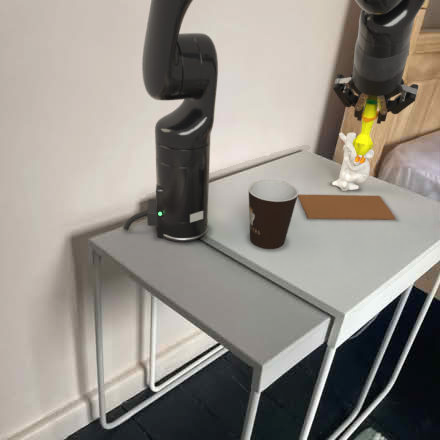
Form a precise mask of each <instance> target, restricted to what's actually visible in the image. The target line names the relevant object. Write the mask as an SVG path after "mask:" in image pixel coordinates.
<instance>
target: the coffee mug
mask: <svg viewBox="0 0 440 440" xmlns="http://www.w3.org/2000/svg"><path fill="white" fill-rule="evenodd" d="M298 195H299V190H298V189H297V188H296V187H295V186H294V185H292V184H291V183H288V182H286V181H281V180H275V179H263V180H257V181H254V182H252V183H251V184H249V186H248V212H249V213H248V217H249V241H250V243H251V244H252V245H253V246H255V247H257V248H260V249H263V250H277V249H280V248H281V247H284V245H285V243H286V239H287V236H288V232H289V228H290V226H291V225H290V224H291V221H292V217H293V214H294V210H295V206H296V203H297V199H298Z"/></svg>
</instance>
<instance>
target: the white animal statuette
mask: <svg viewBox="0 0 440 440" xmlns="http://www.w3.org/2000/svg"><path fill="white" fill-rule="evenodd" d="M338 136H339V137H340V140H342V142H343V143H344V144H343V147H342V151H343V159H342V164H341V168H340V169H339V174H338V175H339V176H338V179H336V180H334V181H332V182H331V185H332V186H335V187H338V188H340V189H341V191H342V192H344V191H345V192H346V191H355V190H358V189H360V186H359V185H358V184H362V183H364V182H365V181H366V180H367V179H368V178H369V175H370V173H371V172H370V171H371V166H370V160H371V159H373V157H374V155H375V151H374V150H373V149H371V150H370V151H369V152H368V153H366V154H365V155H364V158H366V160H365V162H364V163H362V164H361V163H359V162H360V161H359V162H355V157H356V156H357V154H356V151H355V149H354V146H353V145H352V143H353V140H354V139H355V138H356V137H357V133H356V132H354V131H353V132H348V133H346V135H345V134H344V132H339V134H338ZM359 157H362V156H361V155H359ZM360 159H361V158H360Z"/></svg>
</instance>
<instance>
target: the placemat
mask: <svg viewBox="0 0 440 440" xmlns="http://www.w3.org/2000/svg"><path fill="white" fill-rule="evenodd" d="M297 198H298V200H299V202H300V204H301V206H302V208H303V211H304V213H305V216H306V218H307V219H308V220H379V221H380V220H383V221H384V220H386V221H387V220H389V221H393V220H396V217H395V215H394V214H393V212H392V211H391V209H390V208H389V207H388V205H387V204H386V203H385V201H384V199H382V197H381V196H380V195H358V194H357V195H354V194H353V195H351V194H350V195H349V194H348V195H347V194H345V195H344V194H298V196H297Z"/></svg>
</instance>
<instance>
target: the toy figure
mask: <svg viewBox="0 0 440 440" xmlns="http://www.w3.org/2000/svg"><path fill="white" fill-rule="evenodd" d="M378 108H379V106H378V102H377V101H374V100H366V102H365V105H364V111H363V113H362V119H361V129H360V132H359V134H358V135H356V138H355V139H354V140H353V143H352V145H353V146H354V149H355V151H356V154H357V156H356V157H355V162H359V161H360V162H359V163H361V164H362V163H364V162H365V160H366V158H364V155H365V154H366V153H368V152H369V151H370V150H373V148H374V142H373V140H372V138H371V135H370V134H371V131H372V128H373V125H374V122H375V120H376V121H377V119H378V113H379V110H378ZM359 155H361V156H362V157H359ZM360 158H361V159H360Z"/></svg>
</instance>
